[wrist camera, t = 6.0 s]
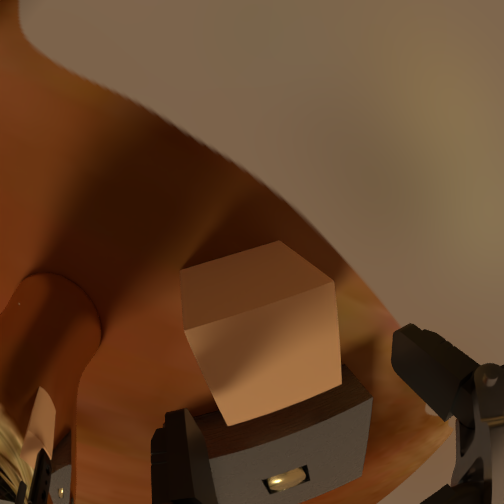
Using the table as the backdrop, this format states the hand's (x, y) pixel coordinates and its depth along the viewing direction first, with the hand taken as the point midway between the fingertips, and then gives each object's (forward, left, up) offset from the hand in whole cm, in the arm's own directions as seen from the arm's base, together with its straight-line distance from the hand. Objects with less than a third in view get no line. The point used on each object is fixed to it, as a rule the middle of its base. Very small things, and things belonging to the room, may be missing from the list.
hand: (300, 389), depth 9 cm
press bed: (+15, -1, -7) cm, 17 cm away
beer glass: (-2, -11, -8) cm, 14 cm away
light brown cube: (0, 0, -8) cm, 8 cm away
